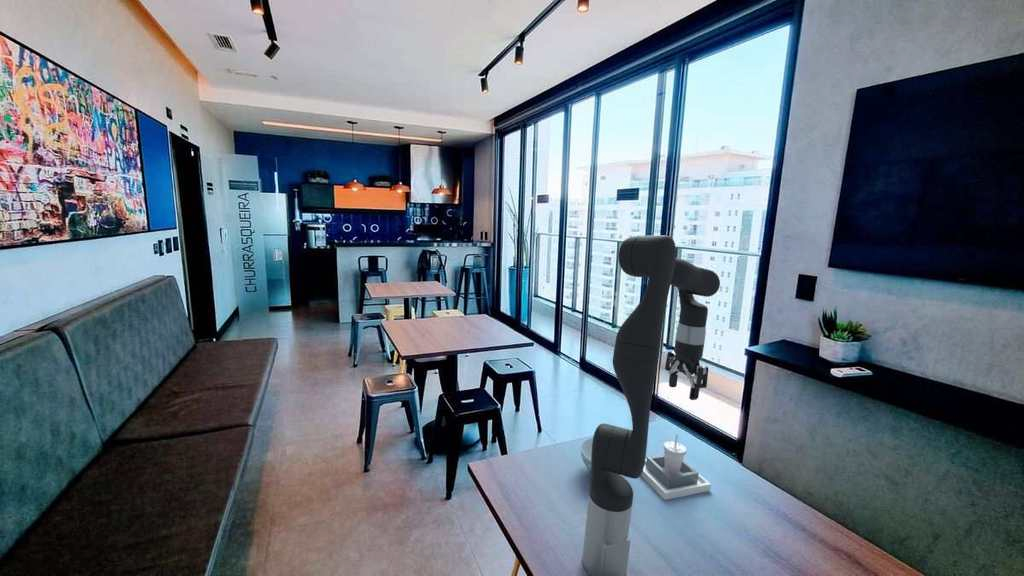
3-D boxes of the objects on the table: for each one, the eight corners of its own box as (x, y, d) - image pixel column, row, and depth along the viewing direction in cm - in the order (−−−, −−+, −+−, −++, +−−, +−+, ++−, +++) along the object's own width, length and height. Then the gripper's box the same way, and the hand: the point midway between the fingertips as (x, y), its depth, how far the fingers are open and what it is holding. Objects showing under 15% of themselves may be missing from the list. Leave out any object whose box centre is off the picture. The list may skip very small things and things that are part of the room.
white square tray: (710, 490, 118) (712, 476, 118) (664, 500, 114) (666, 485, 113) (675, 460, 132) (677, 447, 132) (633, 467, 128) (634, 454, 127)
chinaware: (624, 461, 130) (626, 439, 129) (632, 493, 116) (635, 469, 114) (577, 456, 132) (579, 435, 130) (579, 487, 117) (582, 463, 116)
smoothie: (660, 479, 120) (665, 436, 118) (659, 467, 126) (665, 425, 124) (683, 485, 119) (689, 441, 116) (681, 472, 125) (687, 430, 122)
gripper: (720, 347, 109) (711, 402, 112) (683, 331, 123) (676, 381, 126) (697, 348, 107) (689, 405, 110) (662, 332, 120) (656, 383, 123)
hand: (682, 392), depth 118 cm, fingers open, 8 cm apart
